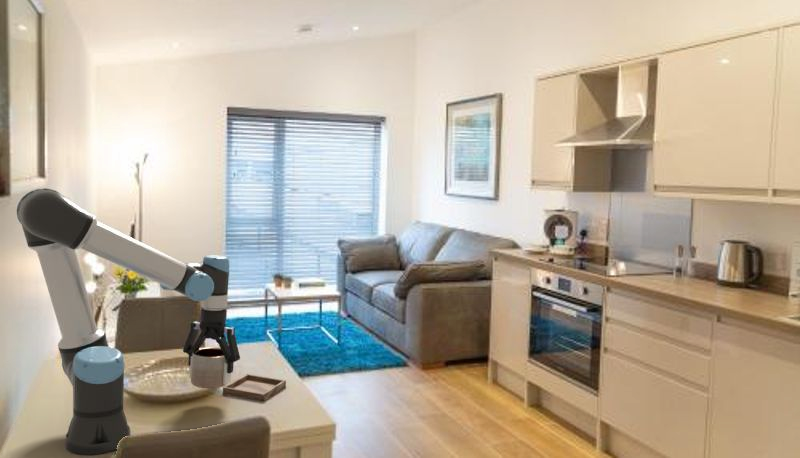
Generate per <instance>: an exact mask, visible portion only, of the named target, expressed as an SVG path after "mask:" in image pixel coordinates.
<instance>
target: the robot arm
mask: <svg viewBox="0 0 800 458" xmlns="http://www.w3.org/2000/svg"><path fill="white" fill-rule="evenodd" d="M16 207H17V208H16V217H17V220H18V222H19V223H20V224H21V227H22V231H23V234H24V237H25V240H26V244H27V247H28V248H29V249H31V250H33V251H35V252H36V254H37V257H38V261H39V264H40V267H41V270H42V274H43V277H44V280H45V284H46V287H47V290H48V294H49V297H50V298H49V299H50V301H51V304H52V308H53V311H54V314H55V318H56V322H57V324H58V325H57V326H58V328H59V330H60V335H61V339H60V340H59V341H58V343H57V348H58V351H59V354H60V358H61V367H62V370H63V372H64V374H65V375H66V377H67V379H68V380H69V382H70V384H71V386H72V395H73V396H72V409H73V410H72V411H73V413H72V417H71V421H70V423H69V426H68V430H67V433H66V434H65V439H64V442H65V443H64V445H65V448H66V450H67V451H68V452H70V453H73V454H76V455H85V456H86V455H87V456H89V455H100V454H107V453H110V452H114V451H117V450H116V448H117V445H118V443H119V441H120V440H121V439H122V438H123V437H125V436H130V437H131V428H130V426H129V424H128V421H127V416H126V414H125V410H124V402H125V401H124V396H125V395H124V394H125V393H124V392H125V391H124V389H125V387H124V386H125V383H124V381H125V369H126V367H125V360H124V356H123V353H122V352H121V351H120V350H119V349H117V348H115V347H110V346H109V342H108V339H107V336H106V332H105V330H104V329H102V328H99V327H98V326H97V324H96V319H95V316H94V313H93V309H92V308H93V307H92V305H91V302H90V299H89V295H88V291H87V287H86V284H85V280H84V277H83V274H82V270H81V267H80V263H79V259H78V255H77V252H76V250H79V249H82V250H84V251H86V252H88V253H91V254H93V255H95V256H98V257H100V258H102V259H104V260H106V261H109V262H111V263H113V264H114V265H115V264H116V265H117V266H120V267H122V268H124V269H127V270H128V271H131V272H133V273H135V274H137V275H140V276H142V277H144V278H147V279H148V280H150V281H153V282H155V283H158V284H159V285H160V288H161V289H162V290H163V291H175V292H177V293H178V294H179V293H180V294H181V295H184V296H185V297H187V298H188V299H190V300H193V301H195V302H200V307H201V308H200V312H199V313H200V315H199V316H200V317H199V319H200V322H199V321H198V320H197V321H193V322H191V323H190V331H189V333H188V335H187V339H186V341H185V344H184V346H183V349H182V352H183V353H184V354H185V353H186V354H187V355H188V362H187V363H188V366H189V379H191V371H192V357H193V351H195V350H197V349H200V348H202V345H203V344H204V342H205V341H206V340H207V339H211V340H213V341H215V342H216V343H218V344H217V345H218V346H219V348H221V350H222V352H223V355H224V357H225V359H226V361H227V362H225V363H224V375H223V384H224V385H225V386H226V385H228V384H230V383H231V375H232V373H233V372H234V363H235V362H237V361H239V360H241V357H240V352H239V347H238V344H237V338H236V328H235V327H234V326H232V327H227V325H226V322H227V317H228V316H227V313H228V310H227V307H228V297H229V296H228V295H229V294H228V290H229V281H230V280H229V279H230V259H229V258H228V257H227V256H225V255H219V254H216V255H215V254H210V255H205V256H204V257H203V259H202V262H194V263H193V262H191V263H186V262H185V263H184V262H182V261H180V260H178V259H176V258H174V257H172V256H169V255H167V254H166V253H164V252H162V251H159V250H157V249H156V248H153V247H151V246H149V245H147V244H145V243H142V242H141V241H139V240H137V239H134V238H133V237H131V236H128V235H126V234H124V233H122V232H121V231H118V230H116V229H114V228H112V227H110V226H108V225H106V224H104V223H102V222H100V221H98V220H97V218H96V216H95V214H93V213H91V212H88V211H87V210H85V209H83V208H82V207H80V206H79V205H77V204H76V203H74V202H73V201H71V200H70V199H69V198H68V197H66V196H65V195H64V194H62V193H60V192H59V191H57V190H55V189H52V188H51V189H50V188H37V189H34V190H31V191H29V192H27V193H26V194H25V195H23V196H22V198H20V200H19V202H18V204H17V206H16ZM199 330H200V331H201V332H200V333H199V335H198V332H199ZM197 335H198V337H197Z"/></svg>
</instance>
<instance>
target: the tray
mask: <svg viewBox="0 0 800 458" xmlns="http://www.w3.org/2000/svg"><path fill="white" fill-rule="evenodd" d="M286 386H287V380H286V379H285V380H284V379H279V378H273V377H267V376H262V375H256V374H255V375H254V374H250V373H247V374H245V375H243V376H241V377H239V378H238V379H236V380H234V381H232V382H229V383H227V384H226V385H225V386H223V387H222V394H224V395H228V396H233V397H240V398H245V399H251V400H255V401H261V402H265V401H266V400H268V399H269V398H270V397H272V396H274V395H275V394H277V393H278V392H280V391H282V390H283V389H284V388H286Z"/></svg>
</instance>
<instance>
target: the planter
mask: <svg viewBox="0 0 800 458" xmlns="http://www.w3.org/2000/svg"><path fill="white" fill-rule="evenodd" d="M225 362H227V361H226V359H225V357H224V355H223V352H222V350H221V348H220V347H200V348H199V349H197V350H195V351H193V357H192V371H191V378H190V383H191V385H192V386H195V387H196V388H199V389H208V390H209V389H210V390H211V389H220V388H223V387H225V386H226V385H224V384H223V375H224V363H225Z"/></svg>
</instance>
